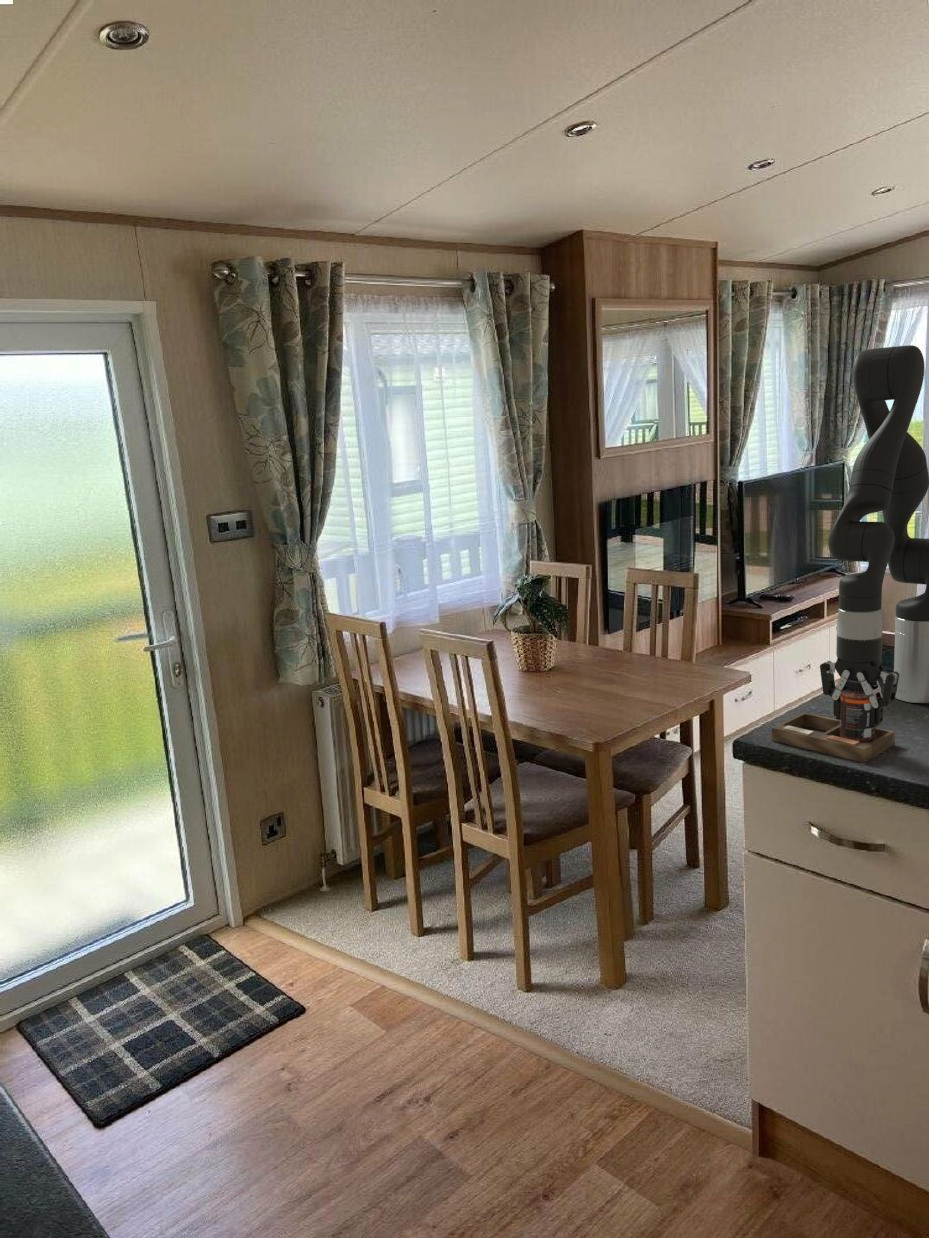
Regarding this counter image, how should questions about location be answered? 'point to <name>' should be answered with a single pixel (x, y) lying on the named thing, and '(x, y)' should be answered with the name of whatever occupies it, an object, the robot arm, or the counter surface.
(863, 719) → the supplement bottle
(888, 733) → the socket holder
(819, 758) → the counter surface
